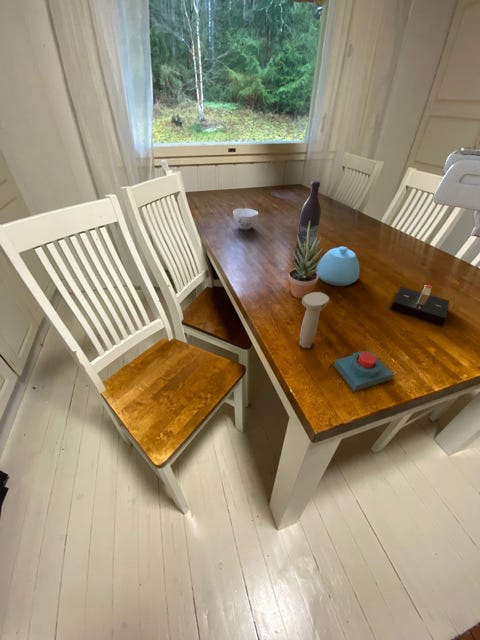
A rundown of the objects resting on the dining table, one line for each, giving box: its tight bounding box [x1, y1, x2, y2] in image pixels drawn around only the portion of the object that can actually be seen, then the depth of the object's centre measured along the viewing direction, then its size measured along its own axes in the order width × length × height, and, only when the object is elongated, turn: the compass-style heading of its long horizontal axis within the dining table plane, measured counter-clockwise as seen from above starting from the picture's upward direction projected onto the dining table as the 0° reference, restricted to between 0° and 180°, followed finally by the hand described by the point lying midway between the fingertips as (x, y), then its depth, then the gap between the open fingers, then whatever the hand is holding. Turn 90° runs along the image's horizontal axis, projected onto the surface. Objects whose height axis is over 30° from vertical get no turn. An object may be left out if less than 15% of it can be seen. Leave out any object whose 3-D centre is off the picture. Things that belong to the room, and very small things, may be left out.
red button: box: [358, 351, 377, 368], centre depth 63 cm, size 4×4×2 cm
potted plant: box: [288, 221, 325, 299], centre depth 84 cm, size 10×10×25 cm
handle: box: [299, 291, 330, 349], centre depth 68 cm, size 5×6×15 cm
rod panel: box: [390, 286, 450, 327], centre depth 85 cm, size 14×11×3 cm
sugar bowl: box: [315, 246, 361, 287], centre depth 97 cm, size 15×15×12 cm
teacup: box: [232, 207, 259, 230], centre depth 138 cm, size 15×12×8 cm
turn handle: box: [417, 284, 433, 306], centre depth 83 cm, size 6×2×4 cm, turn 145°
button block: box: [333, 350, 394, 392], centre depth 64 cm, size 10×8×4 cm
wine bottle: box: [293, 180, 322, 267], centre depth 100 cm, size 7×7×30 cm
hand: (479, 236), depth 51 cm, fingers closed
